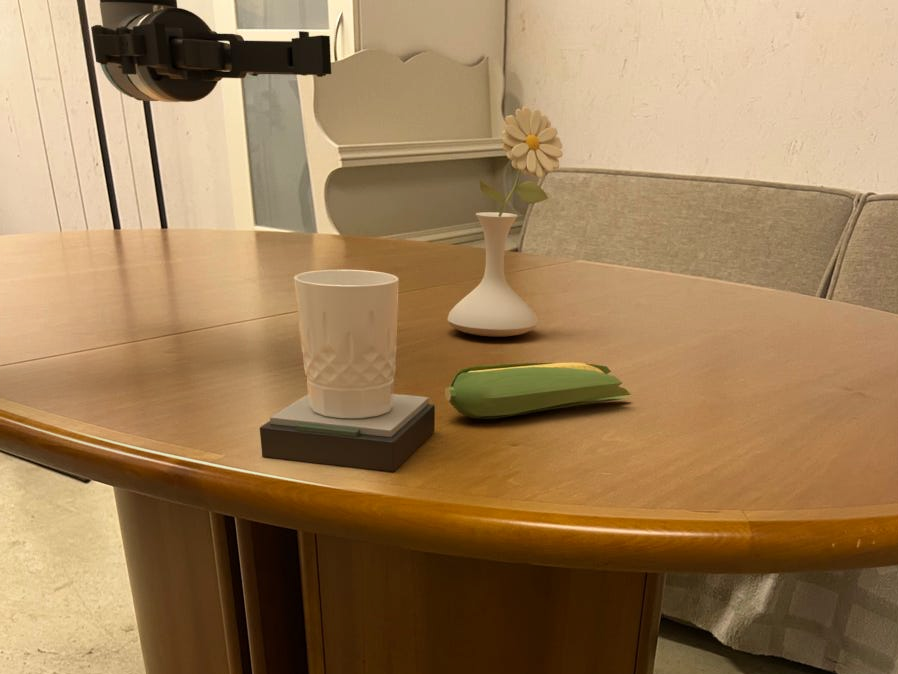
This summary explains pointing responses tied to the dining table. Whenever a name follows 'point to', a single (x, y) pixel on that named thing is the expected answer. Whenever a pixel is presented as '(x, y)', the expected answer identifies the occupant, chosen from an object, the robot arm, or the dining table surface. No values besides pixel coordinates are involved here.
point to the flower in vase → (493, 299)
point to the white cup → (348, 340)
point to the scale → (349, 435)
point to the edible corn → (530, 388)
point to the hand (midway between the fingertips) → (247, 49)
